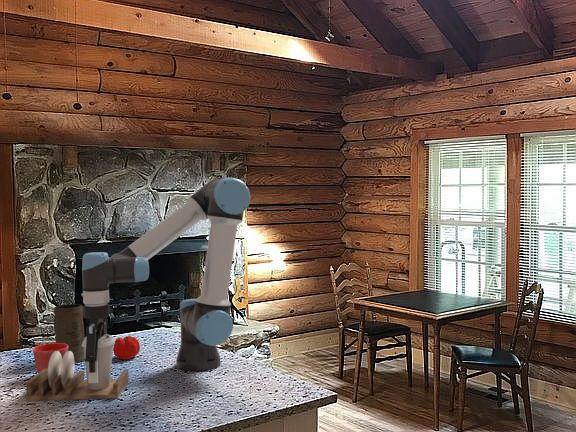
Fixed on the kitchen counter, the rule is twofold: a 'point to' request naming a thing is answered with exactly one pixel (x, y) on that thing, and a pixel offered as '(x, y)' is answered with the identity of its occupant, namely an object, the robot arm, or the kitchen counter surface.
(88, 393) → the dish rack
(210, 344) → the robot arm
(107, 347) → the coffee cup
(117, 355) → the tomato
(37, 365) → the flower pot
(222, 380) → the kitchen counter surface
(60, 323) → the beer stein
